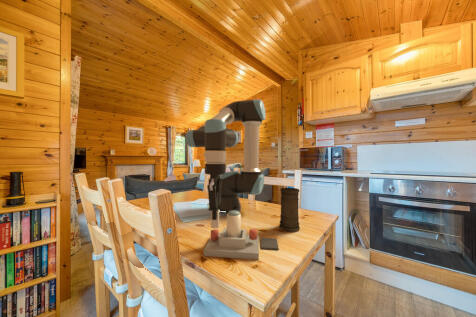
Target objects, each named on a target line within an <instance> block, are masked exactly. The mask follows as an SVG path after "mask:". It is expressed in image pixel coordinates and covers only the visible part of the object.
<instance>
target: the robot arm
mask: <svg viewBox="0 0 476 317" xmlns="http://www.w3.org/2000/svg"><path fill="white" fill-rule="evenodd" d="M264 104H265V103H264V101H262V100H261V99H259V98H258V99H257V98H256V99H246V100H245V99H244V100H237V101H232V102H230V103H229V104H227V105H225V106H223V107H222V108H221V109H219V112H218V113H217V114H216V115H214V116H213V117H212V118H209V119H206V120H205V122H204V124H203V125H201V126H200V127H199V128H197V129H190V130H188V131H187V132H186V133H185V137H184V138H185V139H184V140H185V143H186V145H187V146H188V147H190V148H204V153H203V154H202V155H203V156H204V162H205V164H204V174H205V175H209V179H208V184H207V186H206V187H207V188H206V189H207V192H208V194H207V195H208V196H207V197H208V211H210V229H219V228H220V212H219V210H220V211H226V212H229V211H231V210H236V211H239V212H241V211H242V205H241V201H240V199H239V194H242V195H244V194H245V195H251V196H255V195H258V196H259V195H260V194H261V193H262V191H263V189H264V185H265V175H264V174H263V173H262V170H261V169H260V168H259V167H260V164H259V163H260V162H259V158H260V157H259V156H260V126H262V125H263V121H265V120H266V107H265V105H264ZM235 122H241V124H242V125H243V126H244V127H243V128H244V129H243V130H244V135H243V136H244V138H243V140H244V141H243V168H242V169H241V171H240V172H239V170H229V171H227V170H226V169H227V167H226V161H227V152H226V148H233V147H236V146H237V144H238V143H239V134H238V133H237V132H236V131H235V130H233V129H232V128H227V125H231V124H233V123H235Z"/></svg>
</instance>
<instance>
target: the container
mask: <svg viewBox="0 0 476 317" xmlns="http://www.w3.org/2000/svg"><path fill="white" fill-rule="evenodd" d="M279 191H280V220H279V228H280V229H281V230H282V231H286V232H290V233H291V232H292V233H293V232H294V233H295V232H298V231H300V229H301V228H300V222H299V219H300V217H299V200H300V199H299V195H300V189H299V188H294V187H280V190H279Z"/></svg>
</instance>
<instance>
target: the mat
mask: <svg viewBox="0 0 476 317" xmlns="http://www.w3.org/2000/svg"><path fill="white" fill-rule="evenodd" d="M260 240H261V241H260V243H261V244H260V245H261V250H272V251H274V250H275V251H279V250H280V249H279V244H278V239H277V237H276V238H275V237H274V238H273V237H261V238H260Z"/></svg>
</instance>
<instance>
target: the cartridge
mask: <svg viewBox="0 0 476 317" xmlns="http://www.w3.org/2000/svg"><path fill="white" fill-rule="evenodd" d="M241 227H242V214H241V212H240V211H236V210H231V211H229V212H228V213H226V228H227V237H235V238H241V229H242V228H241Z"/></svg>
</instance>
